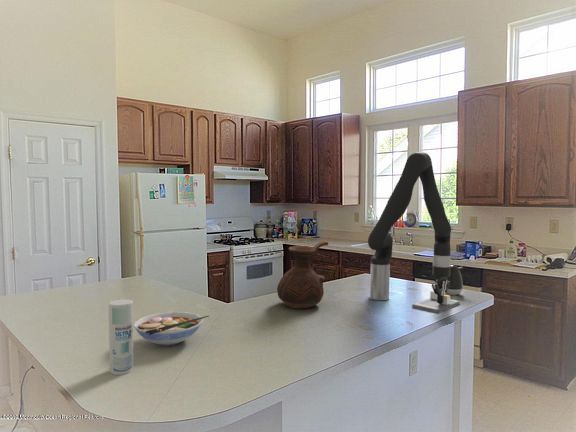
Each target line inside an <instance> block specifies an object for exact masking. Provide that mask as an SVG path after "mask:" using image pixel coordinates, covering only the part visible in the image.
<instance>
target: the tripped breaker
mask: <svg viewBox="0 0 576 432" xmlns="http://www.w3.org/2000/svg"><path fill="white" fill-rule="evenodd" d="M450 299H451V295H448V294H445V295H444V300H443V303H442V304H445V305H448V304H450Z"/></svg>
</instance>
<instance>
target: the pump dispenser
mask: <svg viewBox="0 0 576 432" xmlns="http://www.w3.org/2000/svg"><path fill="white" fill-rule="evenodd" d="M463 269H464V267H463V266H460V267H458V266H456V264H451V265H450V276H449V277H447V281H450V284H449V287H448V290H447V292H446V293H445V295H450V296H458V295H460V294H461V293H462V290H463V289H464V285H463V283H464V282H463V276H462V273H461V270H463Z"/></svg>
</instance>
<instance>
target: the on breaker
mask: <svg viewBox="0 0 576 432" xmlns="http://www.w3.org/2000/svg"><path fill="white" fill-rule="evenodd" d="M429 292H430V295H429V298H431V299H436V300H437V294H435V293H434V291H433V290H430V291H429Z"/></svg>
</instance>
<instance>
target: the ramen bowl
mask: <svg viewBox="0 0 576 432" xmlns="http://www.w3.org/2000/svg"><path fill="white" fill-rule="evenodd" d="M209 317H210V315H205V316H200V315H198V314H197V313H193V312H186V311H184V312H183V311H167V312H160V313H158V312H157V313H152V314H149V315H146V316H143V317H140V318H138V319H137V320H135V321H134V322H133V328H135V330H136V332H137V333H138V334H139V335H140V336H141V337H142V338H143V339H145V341H147V342H148V343H152V344H156V345H159V346H167V347H168V346H169V347H170V346H174V345H177V344H179V343H181V342H184V341H186V340H188V339H189V338H191V337H192V336H194V335H195V333H196V332H197V331H198V330H199V328H200V326H201V325H202V324H203V319H206V318H209Z"/></svg>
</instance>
